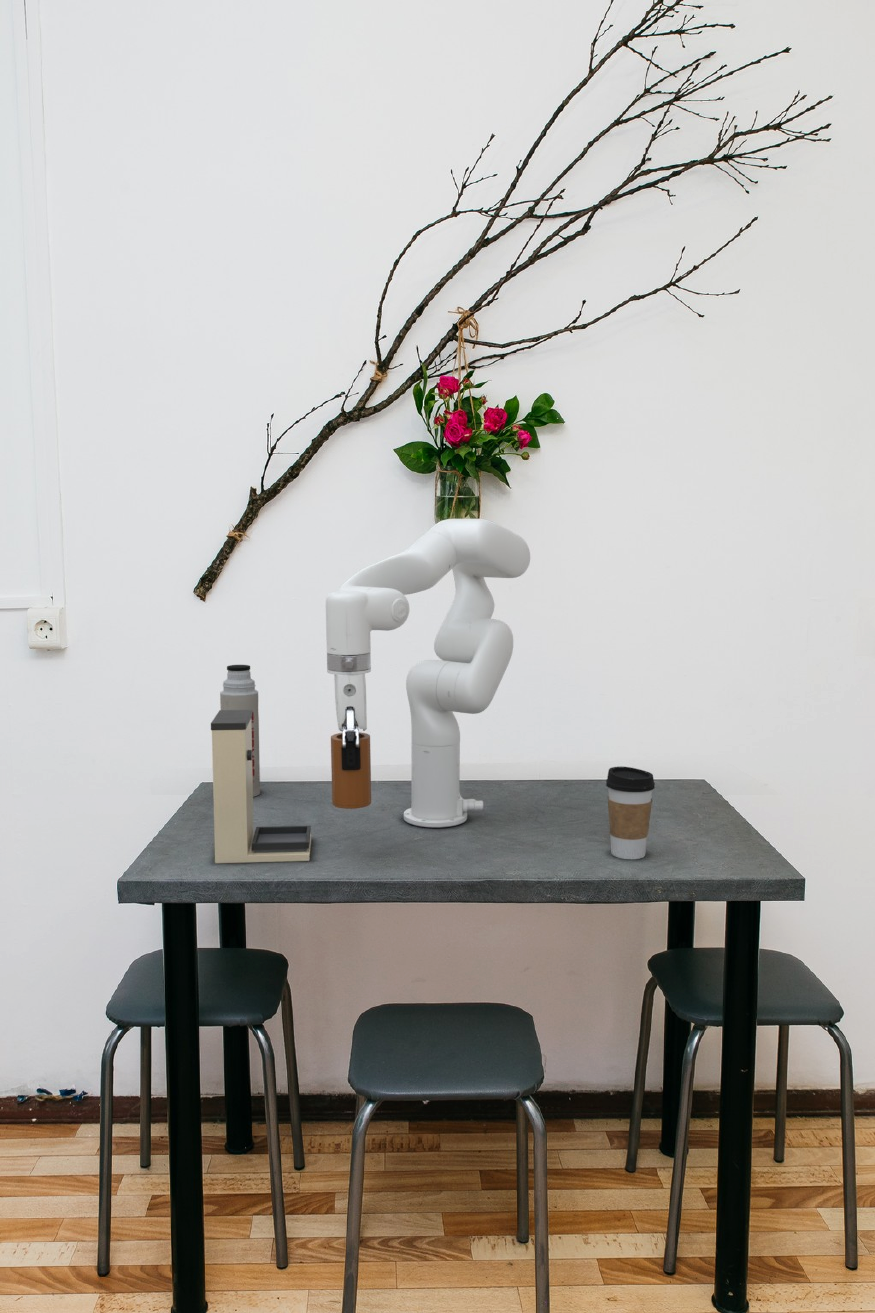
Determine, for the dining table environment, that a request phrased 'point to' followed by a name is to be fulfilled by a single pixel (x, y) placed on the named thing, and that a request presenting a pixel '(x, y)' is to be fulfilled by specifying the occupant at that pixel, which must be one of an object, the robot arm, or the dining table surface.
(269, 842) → the coffee maker
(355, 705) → the robot arm
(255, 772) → the thermos bottle
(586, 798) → the dining table surface
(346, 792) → the brown hollow cylinder
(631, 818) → the coffee cup
